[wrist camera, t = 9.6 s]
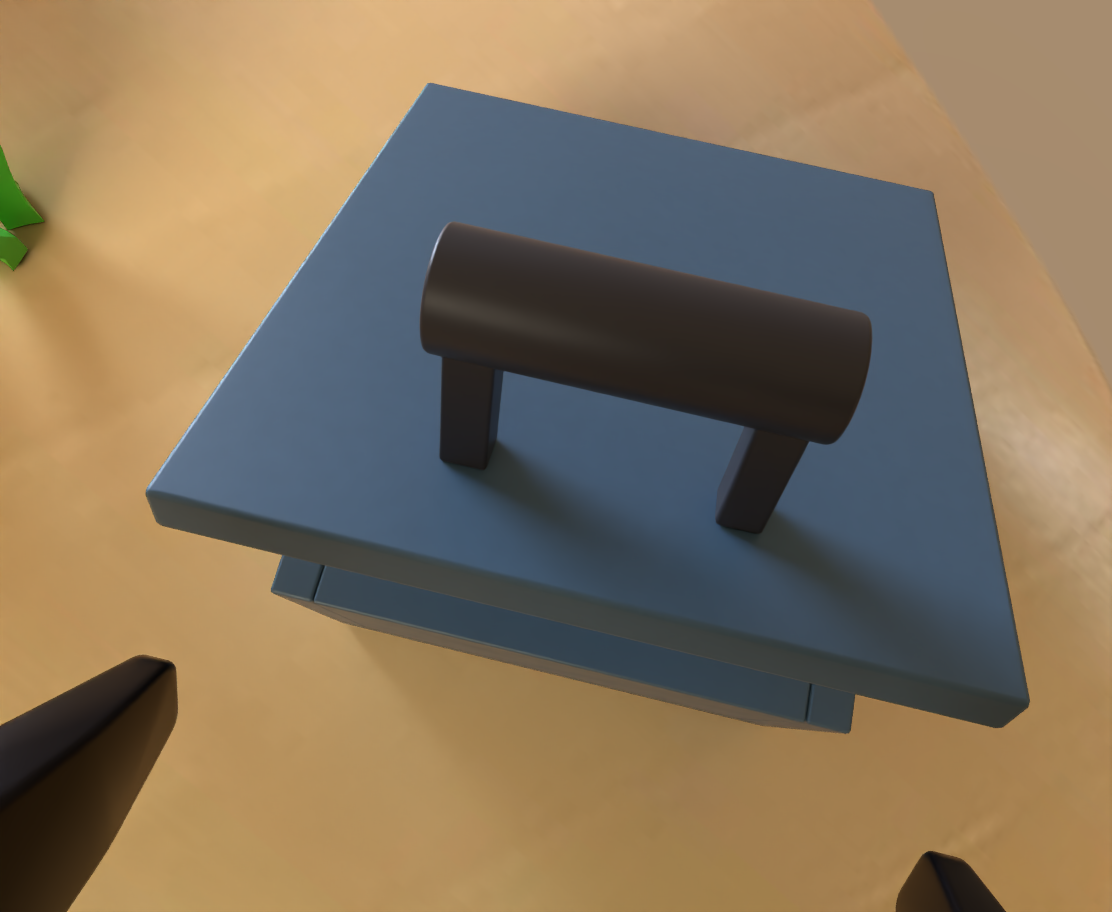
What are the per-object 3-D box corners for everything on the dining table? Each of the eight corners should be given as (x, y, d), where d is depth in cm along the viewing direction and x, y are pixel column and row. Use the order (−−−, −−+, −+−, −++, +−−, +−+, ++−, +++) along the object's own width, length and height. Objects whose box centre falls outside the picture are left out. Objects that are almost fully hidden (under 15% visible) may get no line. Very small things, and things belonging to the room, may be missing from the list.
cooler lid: (1000, 732, 11) (1244, 542, 8) (155, 527, 12) (50, 266, 8) (919, 220, 19) (1020, 23, 16) (426, 113, 20) (428, -99, 17)
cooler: (765, 726, 22) (852, 735, 16) (339, 622, 23) (268, 592, 17) (826, 332, 26) (918, 216, 20) (453, 249, 26) (429, 110, 20)
